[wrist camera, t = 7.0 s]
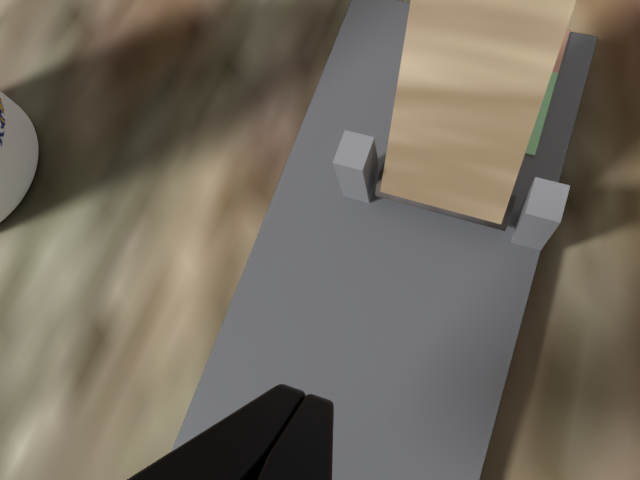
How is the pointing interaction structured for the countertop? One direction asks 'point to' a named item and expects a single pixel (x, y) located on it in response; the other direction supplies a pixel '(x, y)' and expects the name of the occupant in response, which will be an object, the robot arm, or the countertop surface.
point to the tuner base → (387, 276)
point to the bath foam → (15, 155)
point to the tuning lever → (469, 103)
